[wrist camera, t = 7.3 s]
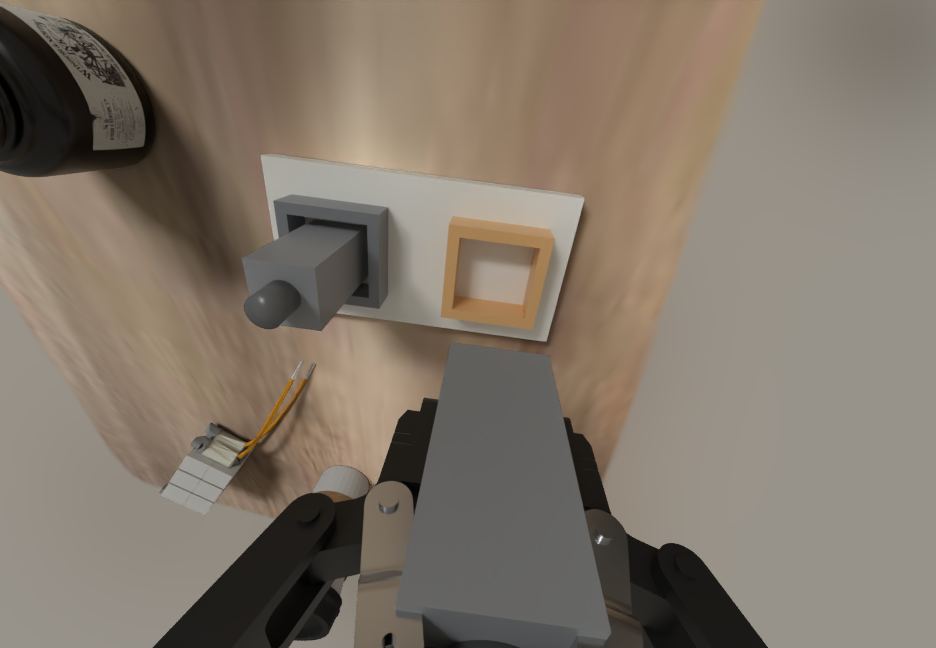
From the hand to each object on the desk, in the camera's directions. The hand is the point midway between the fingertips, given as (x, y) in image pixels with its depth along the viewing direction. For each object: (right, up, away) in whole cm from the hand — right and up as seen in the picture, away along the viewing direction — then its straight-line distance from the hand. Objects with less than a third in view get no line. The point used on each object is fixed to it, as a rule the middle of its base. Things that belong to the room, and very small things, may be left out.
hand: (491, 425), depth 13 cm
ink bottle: (-27, +20, +12) cm, 36 cm away
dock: (-5, +10, +16) cm, 19 cm away
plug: (0, +1, +2) cm, 2 cm away
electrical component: (-25, -6, +27) cm, 38 cm away
